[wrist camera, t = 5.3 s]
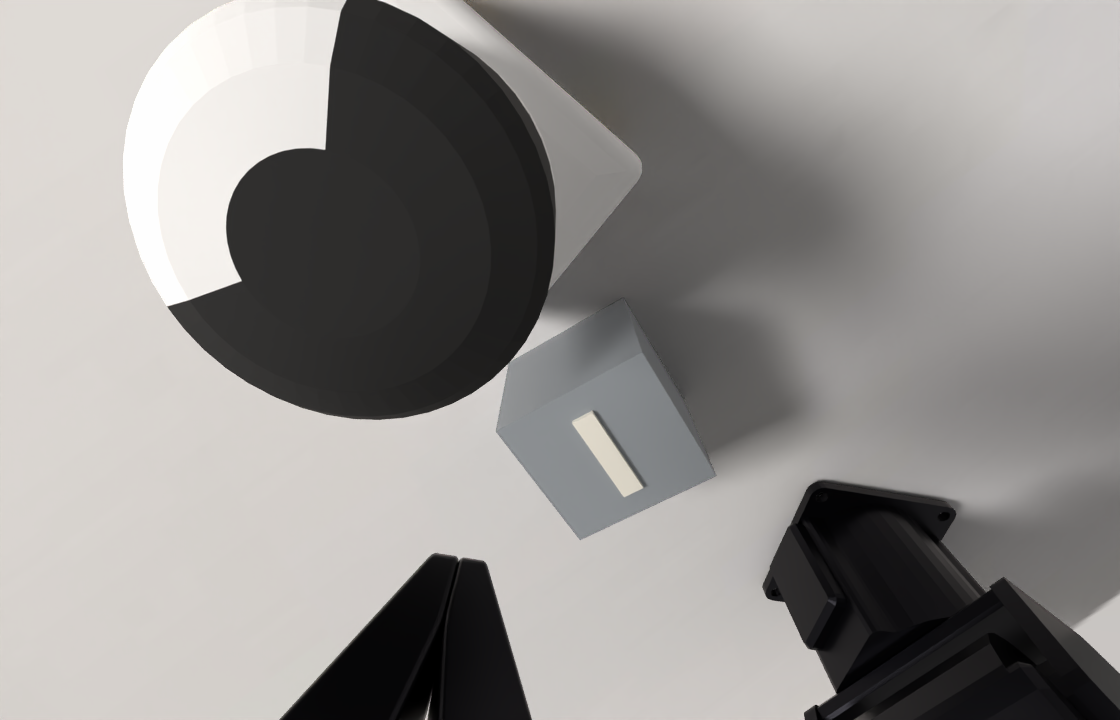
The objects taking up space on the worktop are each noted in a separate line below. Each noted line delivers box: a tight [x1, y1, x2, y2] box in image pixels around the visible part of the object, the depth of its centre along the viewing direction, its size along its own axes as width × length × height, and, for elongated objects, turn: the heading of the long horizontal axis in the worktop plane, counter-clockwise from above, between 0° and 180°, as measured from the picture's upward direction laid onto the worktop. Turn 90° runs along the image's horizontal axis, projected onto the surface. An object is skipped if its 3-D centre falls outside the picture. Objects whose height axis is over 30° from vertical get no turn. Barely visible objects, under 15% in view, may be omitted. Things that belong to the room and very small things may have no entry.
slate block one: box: [496, 298, 716, 540], centre depth 19 cm, size 5×5×5 cm
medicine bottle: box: [123, 0, 642, 420], centre depth 13 cm, size 7×7×12 cm
